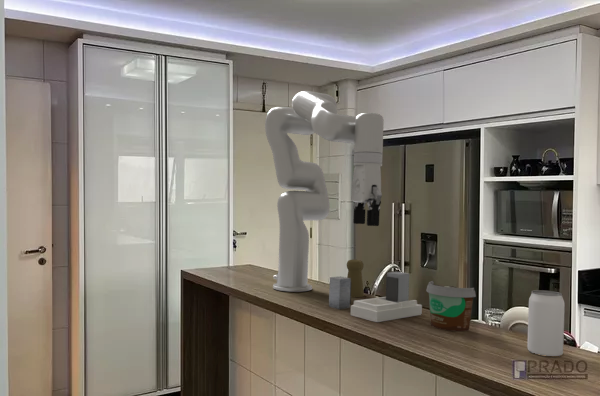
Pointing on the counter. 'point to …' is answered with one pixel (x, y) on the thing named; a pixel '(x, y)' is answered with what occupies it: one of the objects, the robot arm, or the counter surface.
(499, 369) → the counter surface
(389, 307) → the white stepped block base
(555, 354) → the can
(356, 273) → the cork
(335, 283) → the upright gray prism
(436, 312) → the food container
